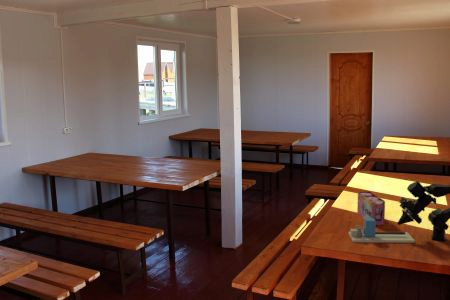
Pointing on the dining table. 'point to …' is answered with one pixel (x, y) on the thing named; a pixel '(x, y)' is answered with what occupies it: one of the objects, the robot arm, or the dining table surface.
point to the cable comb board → (380, 236)
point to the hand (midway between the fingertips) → (398, 224)
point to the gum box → (371, 207)
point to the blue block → (369, 227)
